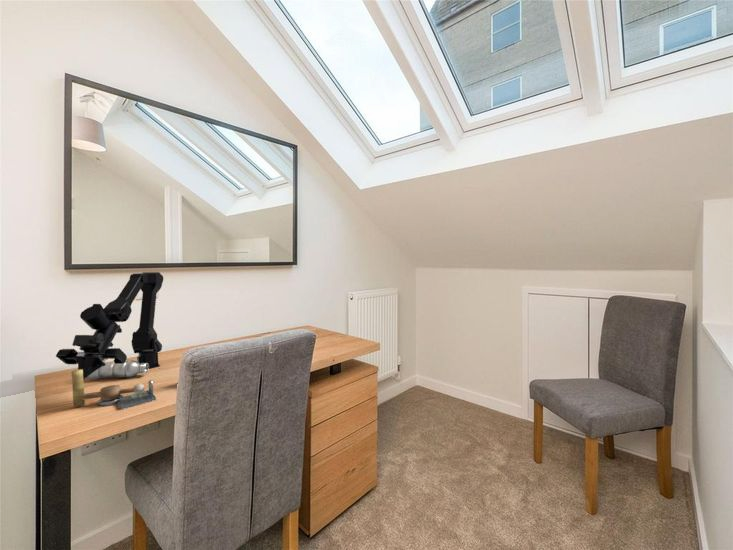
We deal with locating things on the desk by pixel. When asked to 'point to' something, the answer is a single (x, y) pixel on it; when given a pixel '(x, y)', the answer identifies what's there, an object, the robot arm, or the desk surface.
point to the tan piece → (104, 393)
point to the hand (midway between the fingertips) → (78, 381)
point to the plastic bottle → (119, 370)
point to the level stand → (131, 398)
